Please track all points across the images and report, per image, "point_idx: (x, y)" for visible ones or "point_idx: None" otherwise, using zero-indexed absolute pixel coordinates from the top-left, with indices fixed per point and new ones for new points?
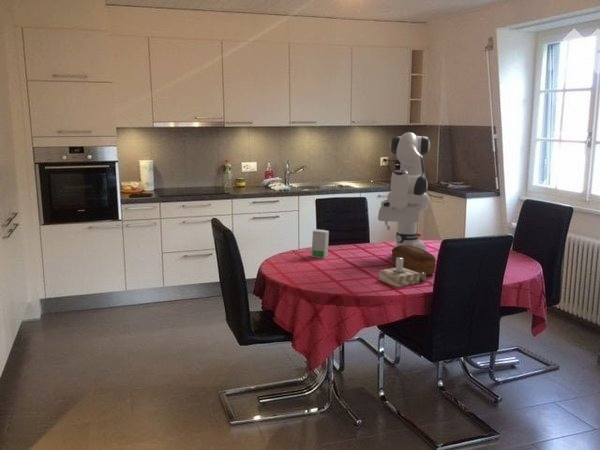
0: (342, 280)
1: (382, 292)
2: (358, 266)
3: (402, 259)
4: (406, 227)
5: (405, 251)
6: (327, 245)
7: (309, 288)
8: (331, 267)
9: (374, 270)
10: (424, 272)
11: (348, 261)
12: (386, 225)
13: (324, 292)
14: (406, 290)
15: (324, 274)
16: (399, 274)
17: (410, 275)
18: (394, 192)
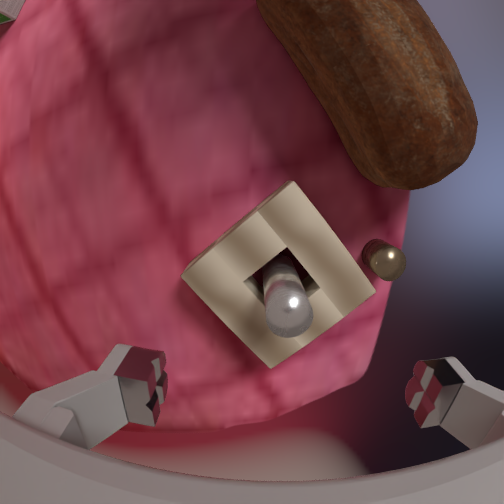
0: (64, 287)
1: (212, 402)
2: (104, 60)
3: (304, 330)
4: (425, 426)
5: (340, 55)
6: None
7: (24, 368)
8: (18, 117)
9: (168, 101)
10: (401, 254)
11: (78, 10)
12: (93, 428)
13: None
14: (296, 375)
15: (8, 221)
16: None
17: (329, 325)
18: None
